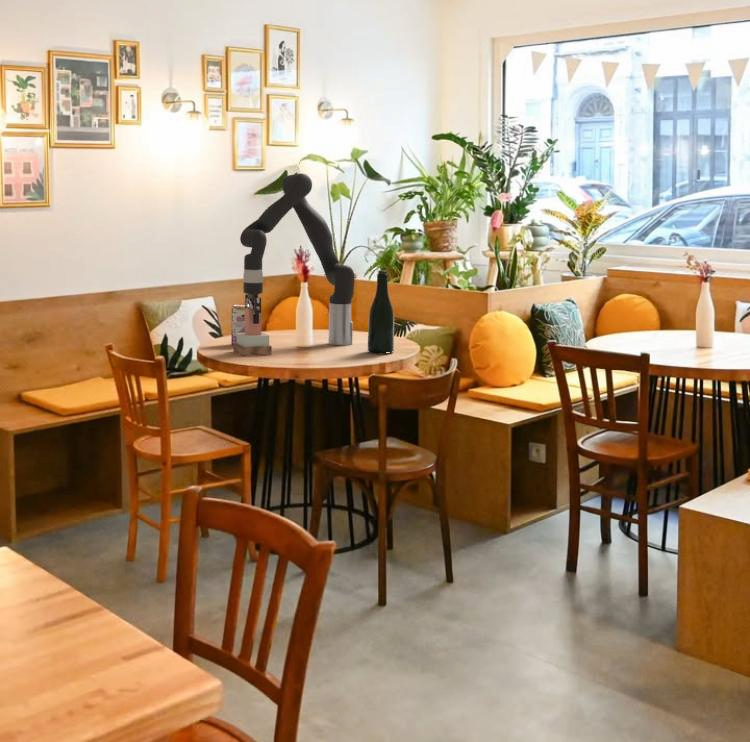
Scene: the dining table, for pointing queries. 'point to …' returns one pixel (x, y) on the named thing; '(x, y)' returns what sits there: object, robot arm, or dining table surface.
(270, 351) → the tan shallow square tray
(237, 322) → the candy bar box
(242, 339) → the painted slab
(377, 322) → the beer bottle
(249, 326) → the brick-red block
